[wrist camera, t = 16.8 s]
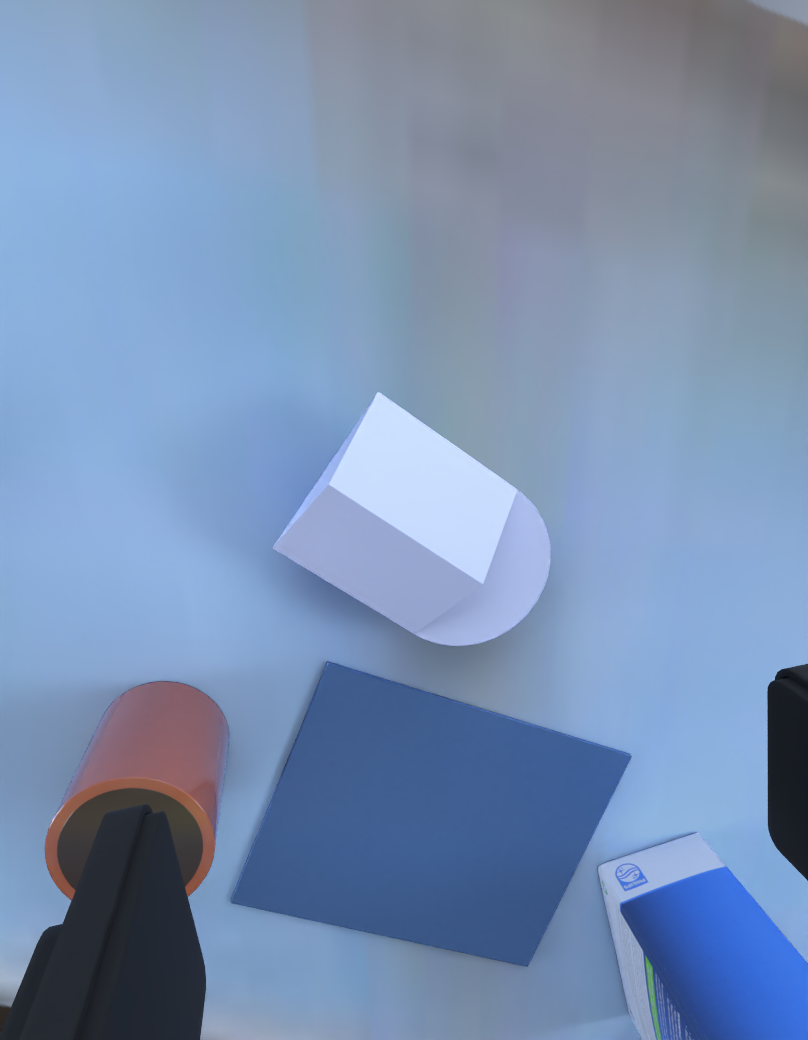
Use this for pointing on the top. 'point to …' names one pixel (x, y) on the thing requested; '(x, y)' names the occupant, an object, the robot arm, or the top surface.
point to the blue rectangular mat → (427, 819)
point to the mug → (147, 778)
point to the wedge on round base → (421, 532)
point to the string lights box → (700, 949)
